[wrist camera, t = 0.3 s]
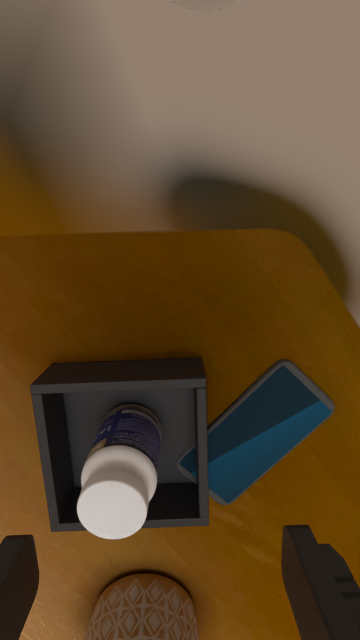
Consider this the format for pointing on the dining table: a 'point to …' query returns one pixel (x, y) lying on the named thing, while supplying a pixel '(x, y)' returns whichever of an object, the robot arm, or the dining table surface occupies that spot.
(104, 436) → the pill bottle
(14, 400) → the dining table surface
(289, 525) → the robot arm
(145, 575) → the planter
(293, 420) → the smartphone
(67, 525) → the black box
